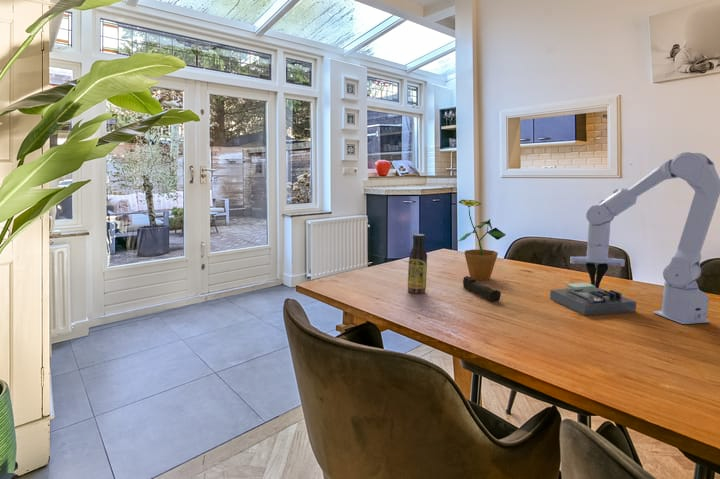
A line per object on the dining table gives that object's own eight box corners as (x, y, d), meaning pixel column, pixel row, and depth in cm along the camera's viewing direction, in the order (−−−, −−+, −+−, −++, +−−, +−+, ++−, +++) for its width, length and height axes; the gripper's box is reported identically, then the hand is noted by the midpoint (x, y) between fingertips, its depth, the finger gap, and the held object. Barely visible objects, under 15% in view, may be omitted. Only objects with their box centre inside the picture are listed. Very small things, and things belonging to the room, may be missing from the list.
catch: (594, 292, 127) (595, 285, 126) (574, 293, 126) (574, 287, 125) (586, 288, 131) (586, 282, 130) (565, 290, 130) (566, 283, 129)
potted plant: (454, 282, 153) (456, 201, 148) (458, 271, 170) (459, 198, 166) (506, 285, 147) (509, 201, 143) (503, 273, 165) (506, 198, 160)
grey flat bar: (603, 301, 117) (604, 298, 117) (594, 302, 117) (594, 299, 117) (574, 289, 129) (575, 287, 129) (566, 290, 129) (566, 287, 129)
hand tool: (501, 302, 129) (501, 287, 129) (489, 303, 128) (490, 289, 128) (470, 287, 147) (470, 274, 147) (460, 288, 146) (460, 275, 146)
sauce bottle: (405, 292, 141) (404, 235, 138) (411, 288, 146) (411, 232, 143) (423, 295, 138) (423, 236, 134) (429, 290, 143) (429, 233, 140)
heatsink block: (635, 311, 118) (636, 296, 117) (584, 315, 115) (585, 300, 115) (595, 295, 133) (596, 282, 133) (550, 299, 131) (550, 285, 130)
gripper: (573, 245, 126) (570, 288, 128) (628, 247, 120) (624, 292, 123) (570, 241, 132) (568, 282, 134) (623, 243, 127) (619, 286, 129)
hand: (594, 287), depth 129 cm, fingers closed
